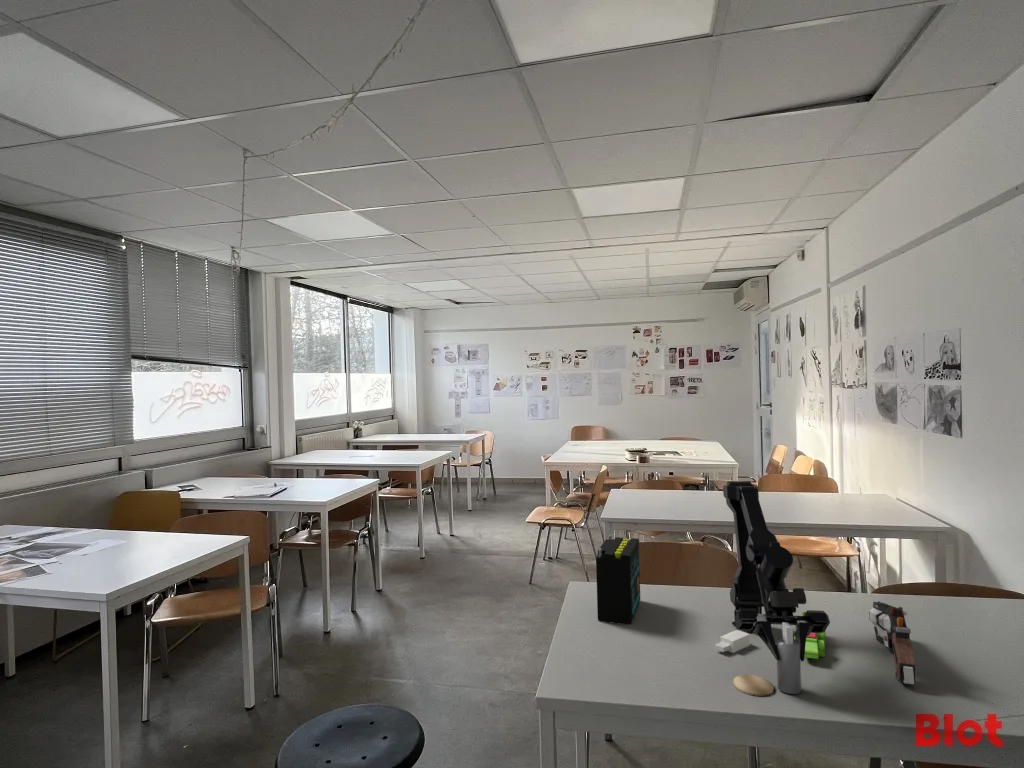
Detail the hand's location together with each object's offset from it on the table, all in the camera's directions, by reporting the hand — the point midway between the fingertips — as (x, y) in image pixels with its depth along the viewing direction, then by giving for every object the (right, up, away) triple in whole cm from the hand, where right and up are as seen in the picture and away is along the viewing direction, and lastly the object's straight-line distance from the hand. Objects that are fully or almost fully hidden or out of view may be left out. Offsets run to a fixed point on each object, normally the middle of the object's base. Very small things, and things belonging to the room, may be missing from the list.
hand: (790, 660), depth 122 cm
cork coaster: (-7, -7, +3) cm, 10 cm away
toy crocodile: (+15, -7, +21) cm, 27 cm away
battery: (-27, -9, +48) cm, 56 cm away
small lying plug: (-4, -8, +22) cm, 23 cm away
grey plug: (0, -7, +1) cm, 7 cm away
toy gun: (+31, -7, +14) cm, 34 cm away
